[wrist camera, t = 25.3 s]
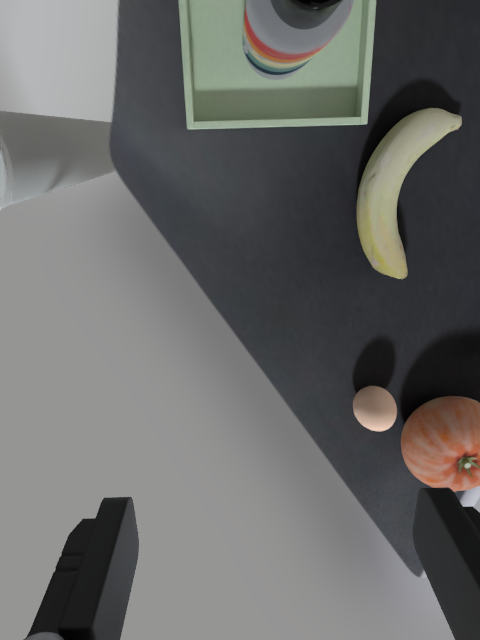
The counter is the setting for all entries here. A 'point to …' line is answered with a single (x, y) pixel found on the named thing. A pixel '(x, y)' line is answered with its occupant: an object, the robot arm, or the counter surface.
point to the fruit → (395, 185)
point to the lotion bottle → (289, 33)
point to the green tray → (264, 94)
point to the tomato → (444, 443)
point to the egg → (375, 408)
